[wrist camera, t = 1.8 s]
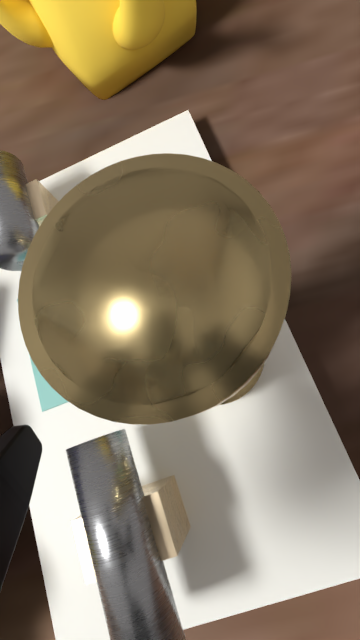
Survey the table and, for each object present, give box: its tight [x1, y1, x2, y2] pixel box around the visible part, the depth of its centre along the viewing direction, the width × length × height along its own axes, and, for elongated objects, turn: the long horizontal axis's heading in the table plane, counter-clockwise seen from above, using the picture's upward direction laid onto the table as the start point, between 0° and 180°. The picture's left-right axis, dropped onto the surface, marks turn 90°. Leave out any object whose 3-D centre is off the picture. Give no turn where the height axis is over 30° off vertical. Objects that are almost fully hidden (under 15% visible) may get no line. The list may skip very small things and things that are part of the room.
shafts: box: [0, 151, 191, 640], centre depth 17 cm, size 24×6×4 cm, turn 20°
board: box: [0, 110, 360, 640], centre depth 19 cm, size 26×16×1 cm, turn 20°
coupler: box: [18, 153, 291, 424], centre depth 12 cm, size 5×5×12 cm
